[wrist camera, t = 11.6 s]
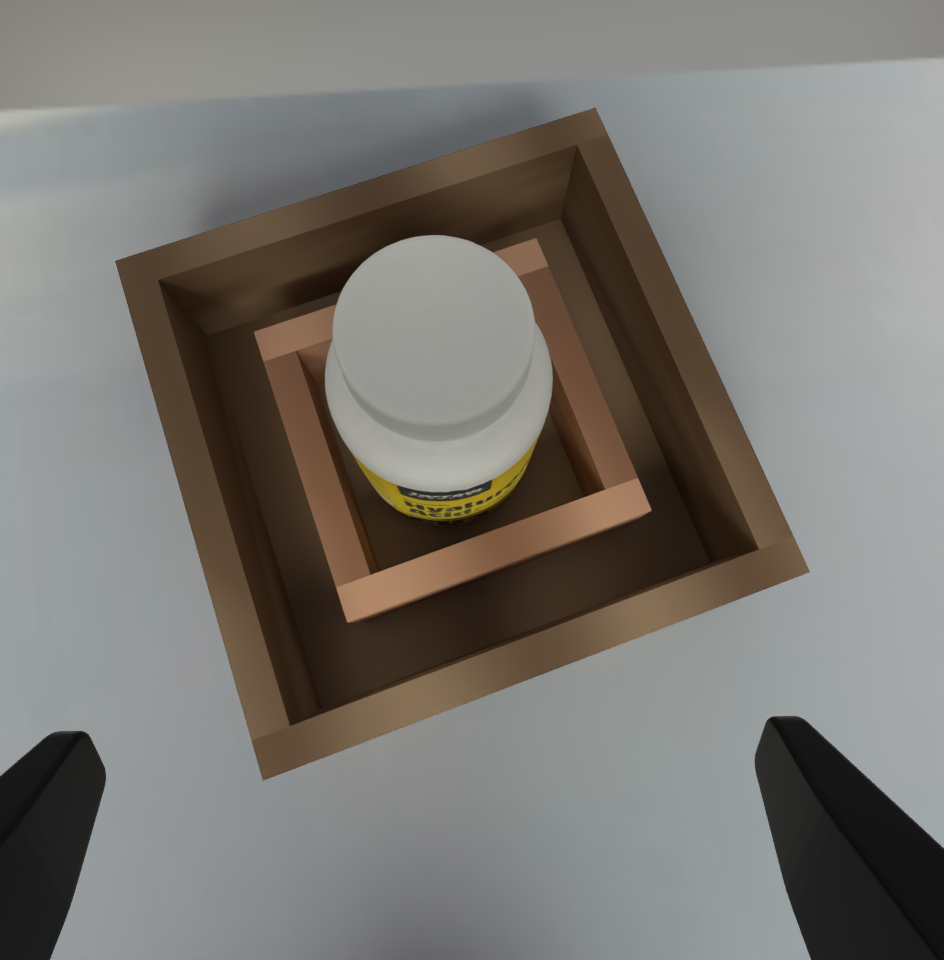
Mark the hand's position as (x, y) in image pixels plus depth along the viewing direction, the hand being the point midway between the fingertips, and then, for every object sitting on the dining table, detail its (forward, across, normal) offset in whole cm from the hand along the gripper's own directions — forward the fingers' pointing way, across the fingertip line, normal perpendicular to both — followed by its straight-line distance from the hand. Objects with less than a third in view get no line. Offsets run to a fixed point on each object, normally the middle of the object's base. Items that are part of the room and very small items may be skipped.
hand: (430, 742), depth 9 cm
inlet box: (+14, 0, +4) cm, 15 cm away
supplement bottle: (+14, 0, +4) cm, 15 cm away
